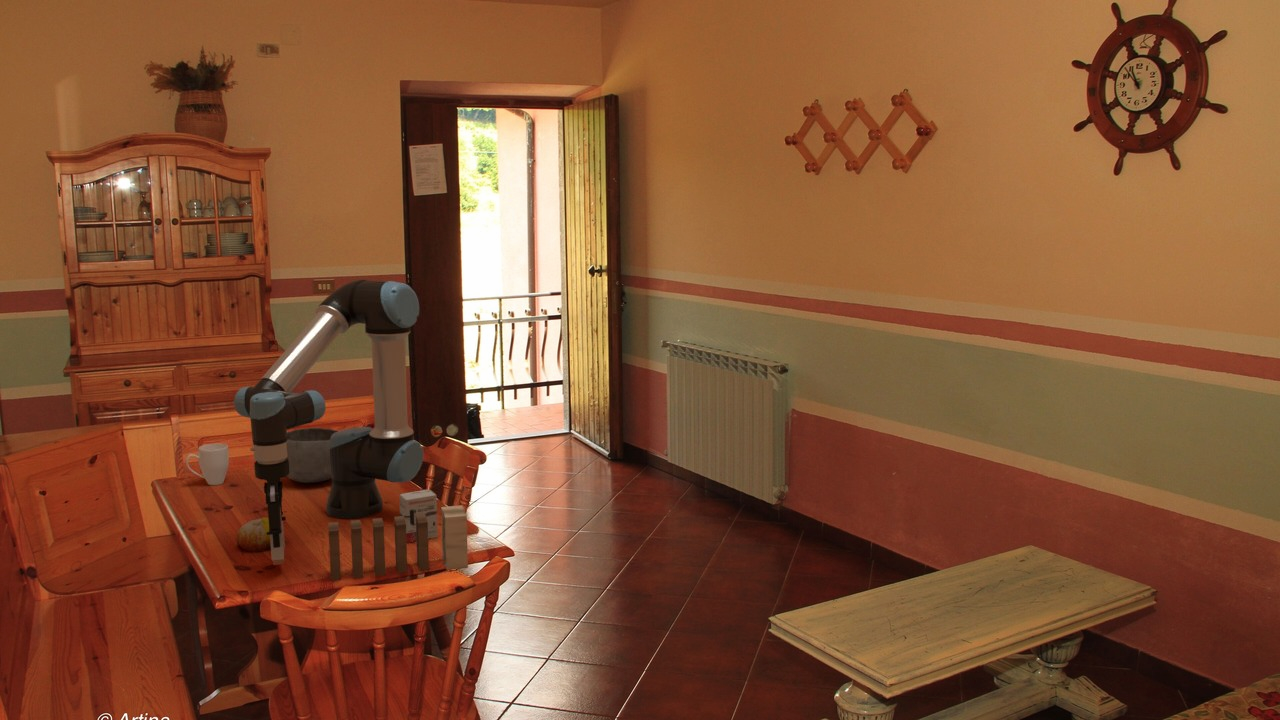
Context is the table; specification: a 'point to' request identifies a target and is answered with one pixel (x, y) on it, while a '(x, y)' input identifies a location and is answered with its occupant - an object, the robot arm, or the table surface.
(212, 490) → the table surface
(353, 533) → the domino
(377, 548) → the domino
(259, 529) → the fruit
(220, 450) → the mug
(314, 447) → the bowl
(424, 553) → the domino
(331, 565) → the domino
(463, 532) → the bookend block
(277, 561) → the domino
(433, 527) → the ink box
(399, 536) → the domino
